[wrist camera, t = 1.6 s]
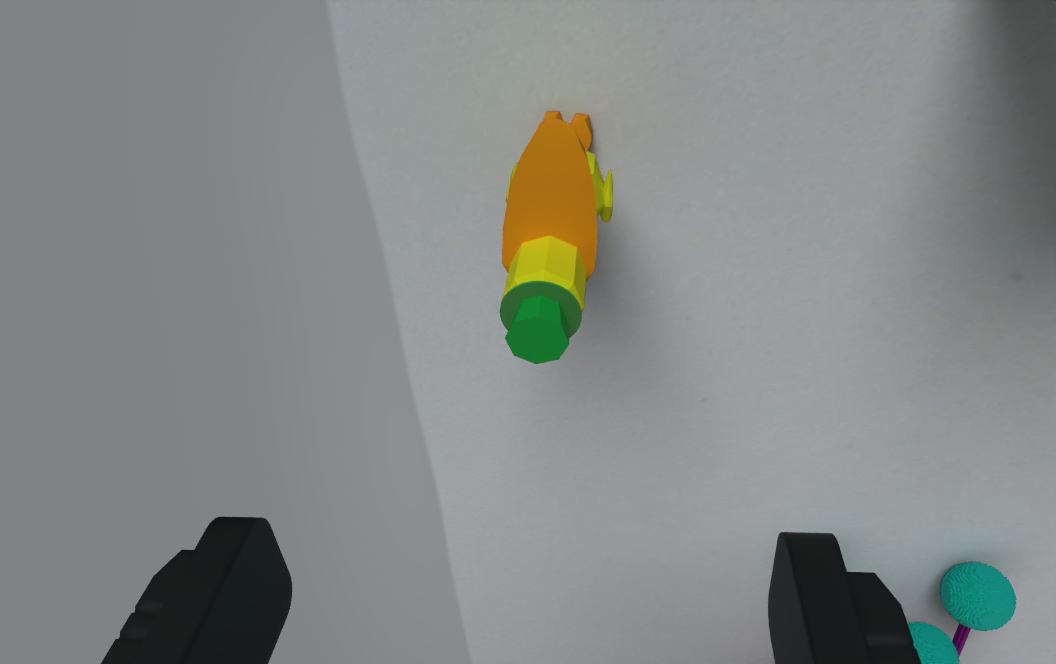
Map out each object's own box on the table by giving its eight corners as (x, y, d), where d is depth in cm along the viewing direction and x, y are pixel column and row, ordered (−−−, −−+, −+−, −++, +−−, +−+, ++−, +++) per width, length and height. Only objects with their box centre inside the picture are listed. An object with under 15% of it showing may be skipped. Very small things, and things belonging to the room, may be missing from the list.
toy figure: (522, 35, 26) (465, 176, 16) (625, 41, 26) (630, 188, 16) (517, 212, 30) (469, 411, 20) (607, 218, 30) (602, 423, 20)
